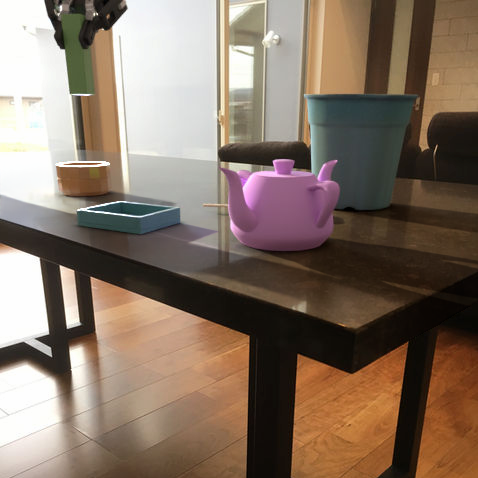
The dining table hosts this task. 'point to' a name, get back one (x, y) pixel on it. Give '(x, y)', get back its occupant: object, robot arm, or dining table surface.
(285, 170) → the teapot
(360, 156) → the flower pot
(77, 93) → the block
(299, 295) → the dining table surface
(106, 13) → the robot arm
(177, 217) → the tray
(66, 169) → the bowl
